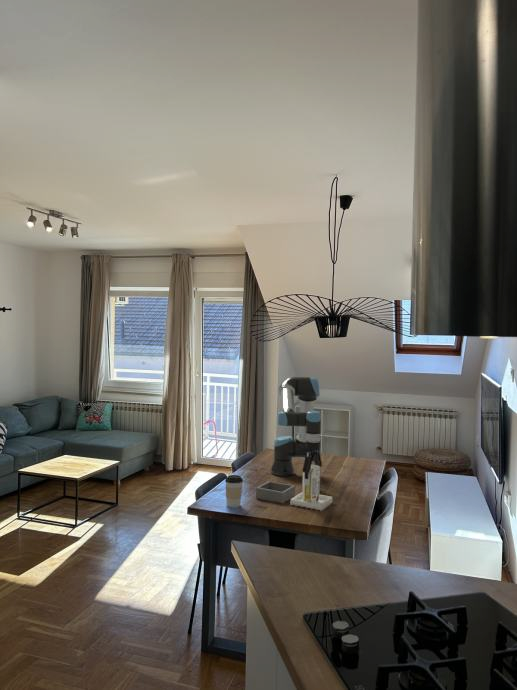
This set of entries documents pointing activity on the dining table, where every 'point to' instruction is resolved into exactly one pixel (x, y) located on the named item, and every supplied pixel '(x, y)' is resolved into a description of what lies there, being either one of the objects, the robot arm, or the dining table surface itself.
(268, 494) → the grey open box
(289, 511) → the dining table surface
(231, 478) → the coffee cup
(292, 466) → the robot arm
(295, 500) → the tray
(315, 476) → the juice carton
